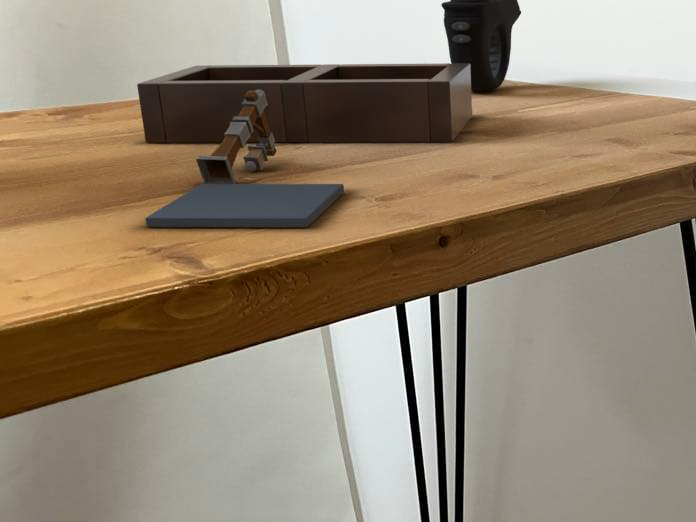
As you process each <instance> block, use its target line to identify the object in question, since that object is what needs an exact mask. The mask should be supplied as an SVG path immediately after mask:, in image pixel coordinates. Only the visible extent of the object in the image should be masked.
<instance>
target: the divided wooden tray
mask: <svg viewBox="0 0 696 522" xmlns="http://www.w3.org/2000/svg"><path fill="white" fill-rule="evenodd" d="M136 86H137V87H136V88H137V93H138V100H139V106H140V107H139V108H140V113H141V119H142V125H143V133H144V140H145V143H146V144H166V143H168V144H187V143H188V144H189V143H190V144H191V143H192V144H196V143H198V144H203V143H204V144H210V143H211V144H213V143H214V144H215V143H216V144H217V143H219V144H221V143H222V142H223V140H224V139H225V136H224V133H225V132H226V131H227V130H228V128H229V126H230V122H233V121H232V119H233V118H234V117H238V115H239V114H240V112H241V110H242V109H243V106H242V103H243V102H244V100H245V99H246V98H245V95H246V93H247V92H248V91H256V90H262V91H264V93H265V97H266V101H267V104H268V105H267V106H266V107H265V108H264V110H263V112H264V115H265V118H266V121H267V124H268V127H269V130H270V132H272V134H273V137H274V140H275V142H274V143H430V142H431V143H437V142H438V143H451V142H453V141H454V140H455V139H456V137H457V136H458V135H459V134H460V132H461V131H462V130H463V129H464V127H465V126H466V125H467V123H469V121H470V120H471V118H472V117H473V99H472V98H473V97H472V91H471V70H470V63H452V64H451V62H448V63H447V62H446V63H445V62H444V63H346V64H345V63H342V64H339V63H337V64H336V63H335V64H333V63H332V64H331V63H330V64H325V63H324V64H225V65H223V64H222V65H221V64H218V65H212V64H211V65H193V66H190V67H187V68H183V69H180V70H177V71H174V72H171V73H168V74H164V75H162V76H157V77H153V78H151V79H148V80H145V81H141V82H139V83H137V84H136ZM253 130H254V131H253V132H252V134H250V136H251V137H250V138H248V140H247V141H246V143H247V144H248V143H259V140H258V136H259V135H258V132H257V131H256V130H255V129H253ZM246 143H245V144H246Z"/></svg>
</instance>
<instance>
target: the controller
mask: <svg viewBox="0 0 696 522" xmlns="http://www.w3.org/2000/svg"><path fill="white" fill-rule="evenodd" d="M519 4H520V3H519V1H518V0H449V1H445V2H441V5H440V6H441V8H442V9H443V11H444V13H443V25H444V31H445V35H446V39H447V45H448V46H447V47H448V53H449V59H450V64H452V63H470V70H471V92H482V93H483V92H486V93H487V92H493V91H495V90H497V89H498V88H500V87H501V86H502V84H503V83H504V81H505V79H506V76H507V73H508V70H509V66H510V59H511V58H510V57H511V53H512V31H513V26H514V24H516V22H517V21H518V19H519V18H520V16H521V15H522V10H520V9H521V7H520V5H519Z"/></svg>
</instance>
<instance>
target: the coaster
mask: <svg viewBox="0 0 696 522" xmlns="http://www.w3.org/2000/svg"><path fill="white" fill-rule="evenodd" d="M344 193H345V184H344V183H235V184H205V183H201V184H199V185H197V186H196V187H194V188H192V189H190V190H189V191H188V192H186V193H184V194H183V195H181V196H179V197H178V198H176V199H174V200H173V201H170V202H169V203H168V204H166V205H164V206H163V207H161V208H159V209H158V210H156V211H155V212H153V213H151V214H149V215H147V216H145V225H146V228H259V229H261V228H266V229H267V228H271V229H272V228H285V229H286V228H291V229H292V228H293V229H294V228H295V229H297V228H302V229H303V228H304V229H305V228H308V227H309V226H310V225H312V224H313V223H314V221H316V220H317V219H318V218H319V217H320V216H321V215H322V214H323V213H324V212H325V211H327V209H328V208H330V207H331V206H332V204H334V203H335V202H336V201H337V200H338V199H339V198H340V197H342V196H343V194H344Z"/></svg>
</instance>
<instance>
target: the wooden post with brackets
mask: <svg viewBox="0 0 696 522" xmlns="http://www.w3.org/2000/svg"><path fill="white" fill-rule="evenodd" d="M245 98H246V99H245V100H244V102H243V103H242V106H243V109H242V110H241V112H240V114H239V115H238V117H234V118H233V119H232V121H233V122H230V126H229V128H228V130H227V131H226V132H225V133H224V136H225V139H224V140H223V142H222V143H219V145H218V146H217V147H216V148H215V150H214V151H213V152H212V153H211V154H210V155H198V158H195V161H196V164H197V167H198V170H199V173H200V176H201V178H202V181H203V184H236V182H237V180H236V178H235V175H234V172H233V169H234V165H235V162H236V159H237V156H238V153H239V152H240V150H241V149H245V145H246V141H247V140H248V138H250V137H251V136H250V134H252V132H253V131H254V130H253V129H255V130H256V131H257V132H258V135H259V136H258V140H259V142H258V143H257V144H255V145H247V149H248V152H247V154H246V155H244V156H243V157H242V158H243V161H244V164H245V169H246V171H248V172H251V173H252V172H254V171H263V164H264V163H265V162H269V157H275V155H276V153H277V152H278V150H277V148H276V144H275V143H276V142H275V140H274V137H273V134H272V132H270V130H269V127H268V124H267V121H266V118H265V115H264V112H263V110H264V108H265V107H266V106H267V105H268V104H267V101H266V97H265V93H264V91H262V90H256V91H248V92H247V93H246V95H245Z"/></svg>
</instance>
